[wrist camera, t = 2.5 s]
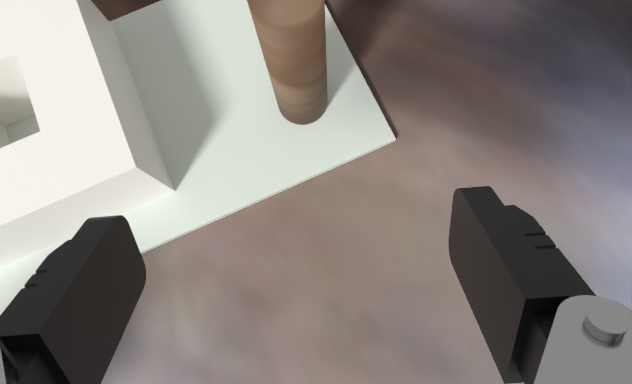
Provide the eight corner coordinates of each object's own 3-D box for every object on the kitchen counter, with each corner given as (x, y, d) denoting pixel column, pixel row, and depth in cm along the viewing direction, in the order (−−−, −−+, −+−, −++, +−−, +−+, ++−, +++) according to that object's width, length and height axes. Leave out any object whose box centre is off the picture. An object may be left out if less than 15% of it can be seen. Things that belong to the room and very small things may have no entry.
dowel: (315, 71, 26) (304, -61, 16) (335, 112, 25) (337, 0, 16) (270, 90, 26) (232, -31, 16) (289, 132, 25) (262, 32, 15)
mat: (294, -50, 28) (294, -55, 28) (394, 141, 25) (396, 138, 25) (-76, 102, 27) (-82, 99, 27) (-23, 326, 24) (-29, 326, 23)
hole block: (113, 27, 27) (65, -30, 22) (175, 191, 25) (136, 167, 20) (-65, 100, 27) (-155, 58, 22) (-22, 277, 24) (-113, 274, 19)
